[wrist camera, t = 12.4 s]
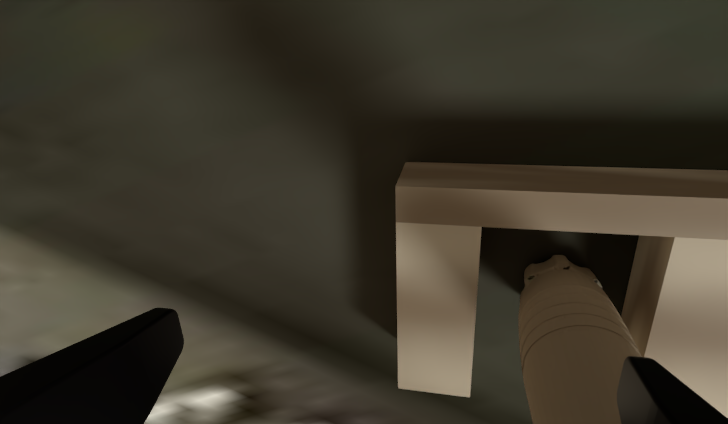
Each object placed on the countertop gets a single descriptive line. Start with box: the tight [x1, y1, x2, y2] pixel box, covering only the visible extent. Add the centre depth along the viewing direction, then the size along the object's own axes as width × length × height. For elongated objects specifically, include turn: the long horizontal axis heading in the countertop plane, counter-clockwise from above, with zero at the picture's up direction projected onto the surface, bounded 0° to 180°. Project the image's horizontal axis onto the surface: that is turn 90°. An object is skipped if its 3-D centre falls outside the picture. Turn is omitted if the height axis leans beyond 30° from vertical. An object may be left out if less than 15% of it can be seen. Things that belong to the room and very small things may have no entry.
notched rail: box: [395, 162, 728, 418], centre depth 18 cm, size 10×24×3 cm, turn 93°
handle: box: [519, 255, 642, 424], centre depth 14 cm, size 5×6×15 cm
